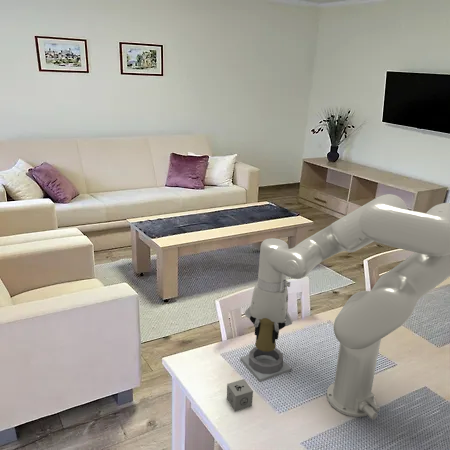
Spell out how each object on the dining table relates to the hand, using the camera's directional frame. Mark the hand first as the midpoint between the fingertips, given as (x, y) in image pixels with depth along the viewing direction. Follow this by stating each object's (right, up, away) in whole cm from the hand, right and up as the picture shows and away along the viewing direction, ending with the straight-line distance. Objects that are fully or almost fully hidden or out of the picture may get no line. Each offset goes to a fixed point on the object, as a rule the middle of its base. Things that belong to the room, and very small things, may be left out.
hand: (266, 338), depth 124 cm
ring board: (0, -9, +3) cm, 9 cm away
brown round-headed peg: (0, -2, +1) cm, 3 cm away
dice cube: (-8, -14, -12) cm, 20 cm away
